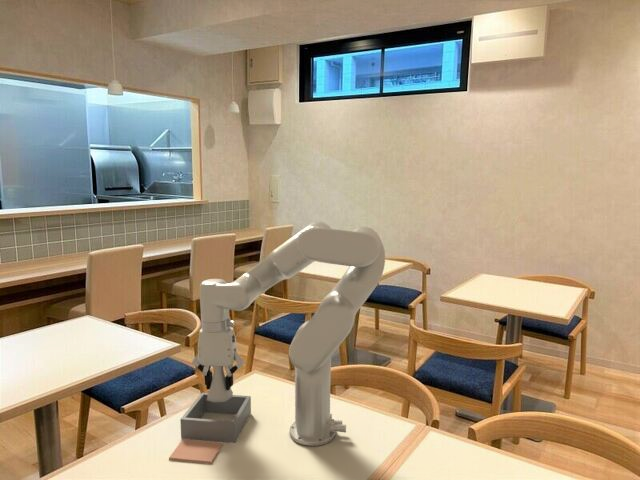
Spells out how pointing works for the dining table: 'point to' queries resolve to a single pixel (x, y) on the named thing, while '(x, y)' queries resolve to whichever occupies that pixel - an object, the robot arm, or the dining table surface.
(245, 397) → the box frame
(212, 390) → the flask
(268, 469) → the dining table surface
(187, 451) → the mat
